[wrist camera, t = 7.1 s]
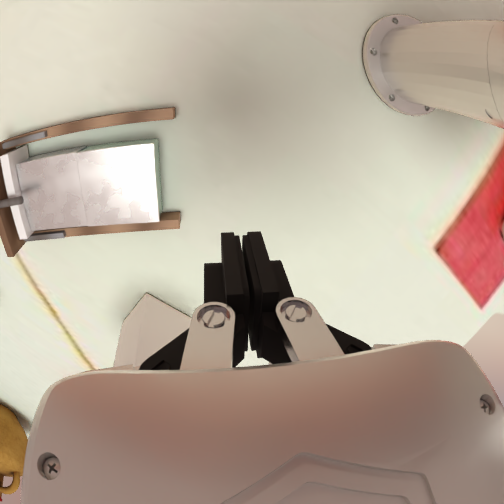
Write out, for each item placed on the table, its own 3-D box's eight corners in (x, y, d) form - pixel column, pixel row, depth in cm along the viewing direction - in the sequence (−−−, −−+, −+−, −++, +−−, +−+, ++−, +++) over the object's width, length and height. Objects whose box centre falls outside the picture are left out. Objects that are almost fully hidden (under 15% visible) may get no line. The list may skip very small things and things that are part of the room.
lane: (175, 107, 24) (168, 111, 20) (180, 220, 31) (177, 246, 26) (8, 138, 21) (-21, 151, 17) (28, 233, 28) (7, 257, 23)
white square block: (88, 144, 25) (75, 152, 22) (98, 211, 29) (88, 225, 26) (32, 155, 24) (16, 164, 21) (44, 217, 28) (31, 231, 25)
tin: (159, 137, 26) (153, 143, 23) (163, 207, 30) (159, 221, 27) (89, 145, 25) (76, 153, 22) (98, 212, 29) (88, 226, 26)
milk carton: (122, 322, 37) (101, 448, 21) (146, 291, 35) (127, 432, 19) (164, 343, 40) (161, 465, 24) (191, 316, 38) (197, 450, 22)
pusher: (27, 144, 22) (7, 154, 19) (42, 222, 27) (27, 238, 24) (19, 146, 22) (-1, 156, 19) (35, 223, 27) (19, 239, 24)
